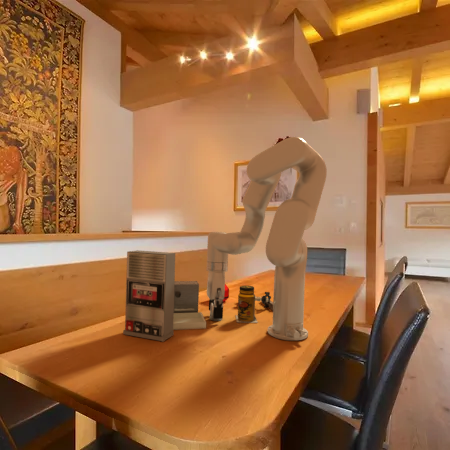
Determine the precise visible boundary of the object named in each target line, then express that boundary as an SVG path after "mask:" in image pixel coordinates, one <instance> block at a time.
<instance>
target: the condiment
mask: <svg viewBox="0 0 450 450" xmlns="http://www.w3.org/2000/svg"><path fill="white" fill-rule="evenodd" d="M237 296H238V297H237V298H238V299H237V314H236V315H235V320H236V323H243V324H247V323H248V324H249V323H251V324H252V323H259V322H258V319H257V317H256V315H255V313H256V312H255V310H256V301H255V297H256V294H255V287H254V286H253V285H241V286H239V293H238V295H237Z"/></svg>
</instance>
